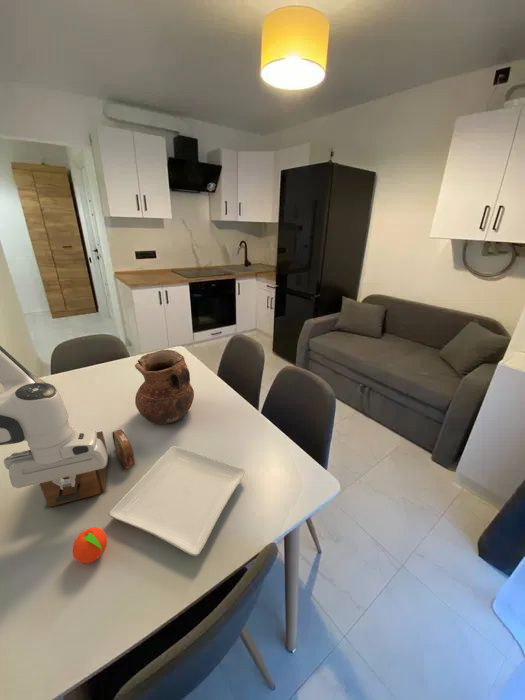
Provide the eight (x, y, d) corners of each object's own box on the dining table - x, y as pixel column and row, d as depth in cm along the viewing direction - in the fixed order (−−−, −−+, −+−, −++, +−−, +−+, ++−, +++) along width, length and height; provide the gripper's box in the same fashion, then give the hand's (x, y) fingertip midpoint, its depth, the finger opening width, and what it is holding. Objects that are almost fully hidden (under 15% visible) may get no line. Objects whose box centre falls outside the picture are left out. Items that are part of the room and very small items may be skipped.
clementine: (119, 549, 70) (114, 529, 67) (93, 578, 64) (86, 558, 61) (96, 534, 73) (90, 515, 70) (69, 561, 67) (61, 541, 64)
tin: (113, 446, 100) (109, 427, 97) (123, 442, 102) (119, 423, 98) (127, 474, 90) (123, 453, 86) (138, 469, 92) (134, 448, 88)
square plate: (173, 452, 99) (172, 443, 97) (246, 478, 90) (246, 469, 88) (108, 522, 76) (105, 512, 74) (198, 566, 67) (197, 555, 65)
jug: (129, 430, 108) (118, 371, 97) (148, 398, 127) (140, 346, 117) (189, 431, 109) (184, 372, 98) (199, 399, 128) (195, 347, 118)
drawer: (98, 506, 78) (92, 483, 75) (44, 521, 74) (34, 497, 71) (105, 459, 93) (99, 438, 90) (60, 469, 89) (52, 447, 86)
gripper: (-5, 466, 64) (15, 509, 69) (99, 444, 71) (110, 484, 76) (6, 446, 69) (24, 488, 75) (102, 428, 76) (112, 467, 82)
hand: (68, 486), depth 75 cm, fingers closed
